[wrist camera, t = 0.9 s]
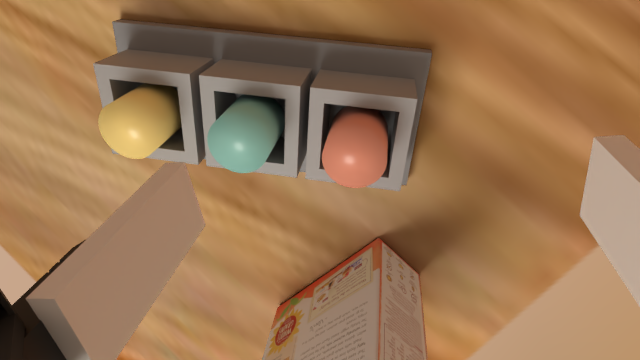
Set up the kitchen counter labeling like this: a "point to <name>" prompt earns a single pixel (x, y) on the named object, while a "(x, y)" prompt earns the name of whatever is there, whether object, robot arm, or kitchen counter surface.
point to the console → (271, 89)
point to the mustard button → (141, 120)
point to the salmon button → (356, 147)
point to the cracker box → (354, 313)
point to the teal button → (246, 133)
